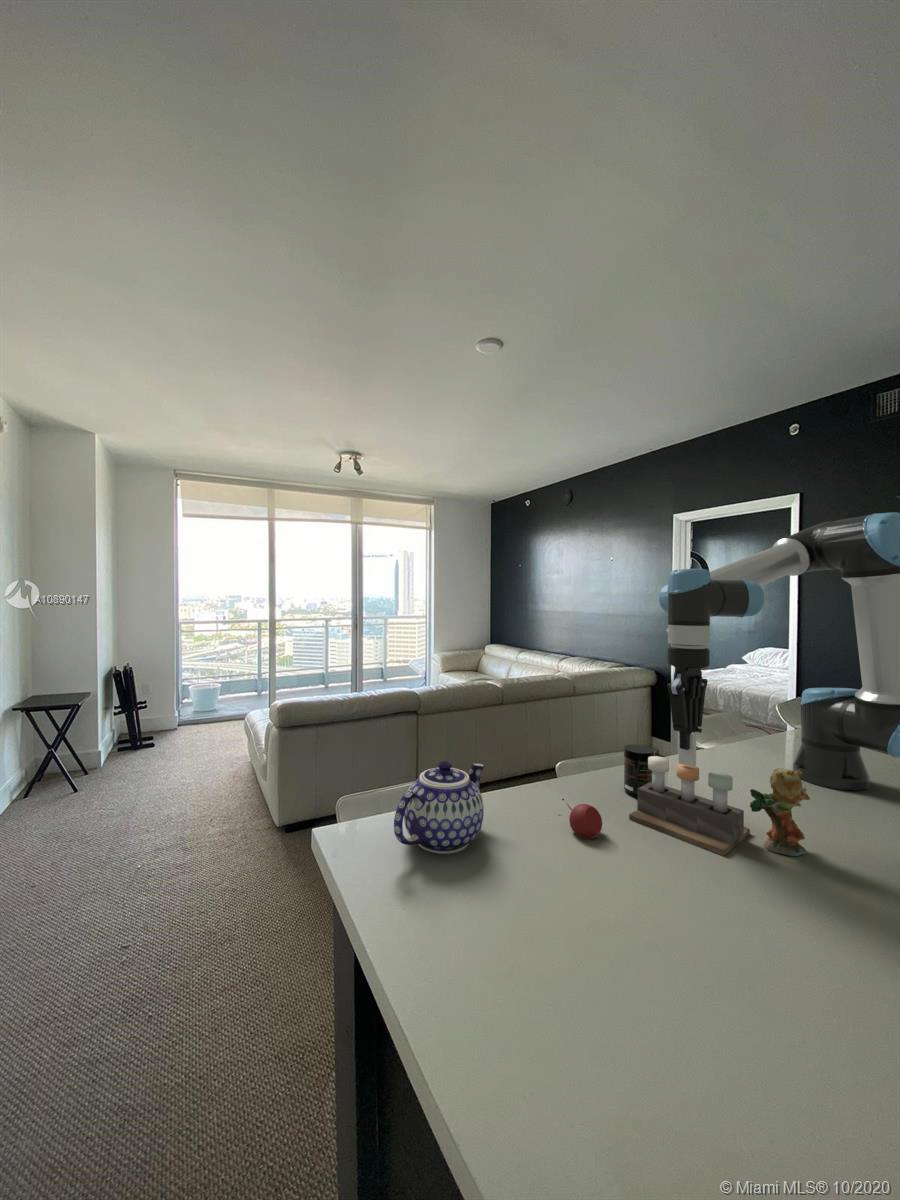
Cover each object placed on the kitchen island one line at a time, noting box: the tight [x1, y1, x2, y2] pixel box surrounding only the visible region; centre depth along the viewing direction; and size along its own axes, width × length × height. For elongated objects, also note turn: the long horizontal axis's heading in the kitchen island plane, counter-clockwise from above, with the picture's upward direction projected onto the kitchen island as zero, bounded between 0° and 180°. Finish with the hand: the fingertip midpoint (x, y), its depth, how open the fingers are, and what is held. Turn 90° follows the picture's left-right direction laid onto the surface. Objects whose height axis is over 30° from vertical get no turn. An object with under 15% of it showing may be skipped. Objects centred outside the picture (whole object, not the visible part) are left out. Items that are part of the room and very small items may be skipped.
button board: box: [628, 782, 751, 857], centre depth 94 cm, size 12×18×6 cm
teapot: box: [393, 760, 485, 855], centre depth 88 cm, size 25×15×15 cm, turn 138°
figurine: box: [749, 767, 811, 857], centre depth 86 cm, size 9×8×15 cm
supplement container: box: [623, 744, 656, 798], centre depth 110 cm, size 7×7×10 cm
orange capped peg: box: [676, 763, 700, 802], centre depth 94 cm, size 4×4×6 cm
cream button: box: [648, 755, 670, 793], centre depth 99 cm, size 4×4×6 cm
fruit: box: [561, 798, 603, 839], centre depth 92 cm, size 6×6×8 cm
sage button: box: [707, 771, 733, 813], centre depth 89 cm, size 4×4×6 cm
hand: (687, 764), depth 94 cm, fingers closed
